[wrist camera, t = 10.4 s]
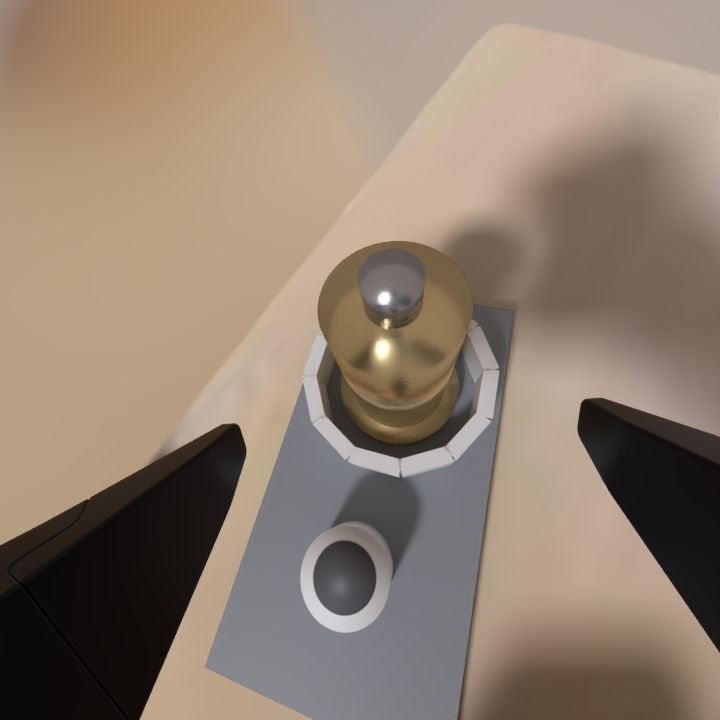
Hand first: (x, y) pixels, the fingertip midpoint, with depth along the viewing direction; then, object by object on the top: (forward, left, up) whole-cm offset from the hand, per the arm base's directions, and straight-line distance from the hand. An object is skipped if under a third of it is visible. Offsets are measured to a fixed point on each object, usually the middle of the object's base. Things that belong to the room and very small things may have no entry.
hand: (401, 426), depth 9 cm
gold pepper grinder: (+4, -1, -11) cm, 12 cm away
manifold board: (0, +2, -12) cm, 13 cm away
